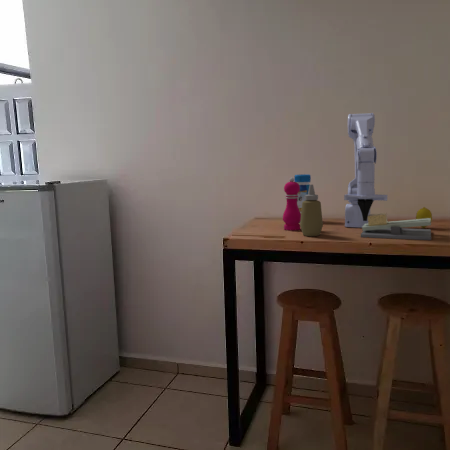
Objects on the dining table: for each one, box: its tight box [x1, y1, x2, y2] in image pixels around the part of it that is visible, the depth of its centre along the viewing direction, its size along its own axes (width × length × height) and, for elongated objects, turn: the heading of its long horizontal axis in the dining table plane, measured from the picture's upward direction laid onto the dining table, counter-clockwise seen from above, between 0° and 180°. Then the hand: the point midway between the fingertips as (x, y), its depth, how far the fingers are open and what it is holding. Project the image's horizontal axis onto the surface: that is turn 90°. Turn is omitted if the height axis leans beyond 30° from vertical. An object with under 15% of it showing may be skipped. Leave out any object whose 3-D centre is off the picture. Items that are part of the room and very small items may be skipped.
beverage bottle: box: [293, 173, 312, 224], centre depth 196 cm, size 8×8×20 cm
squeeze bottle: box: [299, 184, 324, 237], centre depth 162 cm, size 8×8×18 cm
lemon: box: [415, 206, 433, 229], centre depth 170 cm, size 6×6×8 cm
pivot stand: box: [360, 226, 432, 241], centre depth 160 cm, size 22×16×4 cm
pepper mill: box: [282, 177, 301, 231], centre depth 176 cm, size 7×7×20 cm
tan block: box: [368, 212, 389, 226], centre depth 162 cm, size 6×5×4 cm
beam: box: [361, 218, 432, 232], centre depth 159 cm, size 22×9×2 cm, turn 67°
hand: (365, 220), depth 163 cm, fingers closed
